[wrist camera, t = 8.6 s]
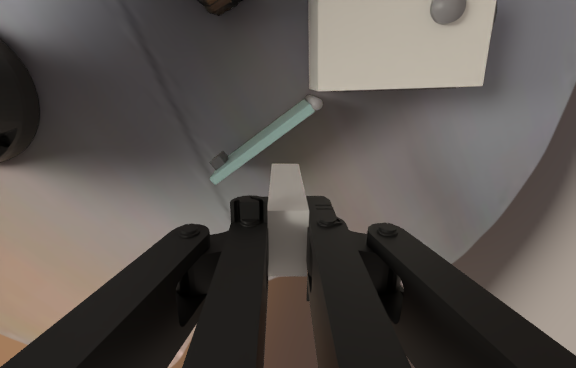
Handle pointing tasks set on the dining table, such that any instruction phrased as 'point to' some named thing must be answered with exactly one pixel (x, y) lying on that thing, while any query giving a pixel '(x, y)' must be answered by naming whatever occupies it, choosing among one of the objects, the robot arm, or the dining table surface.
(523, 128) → the dining table surface
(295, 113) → the side door
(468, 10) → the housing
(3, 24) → the dining table surface
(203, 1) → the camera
